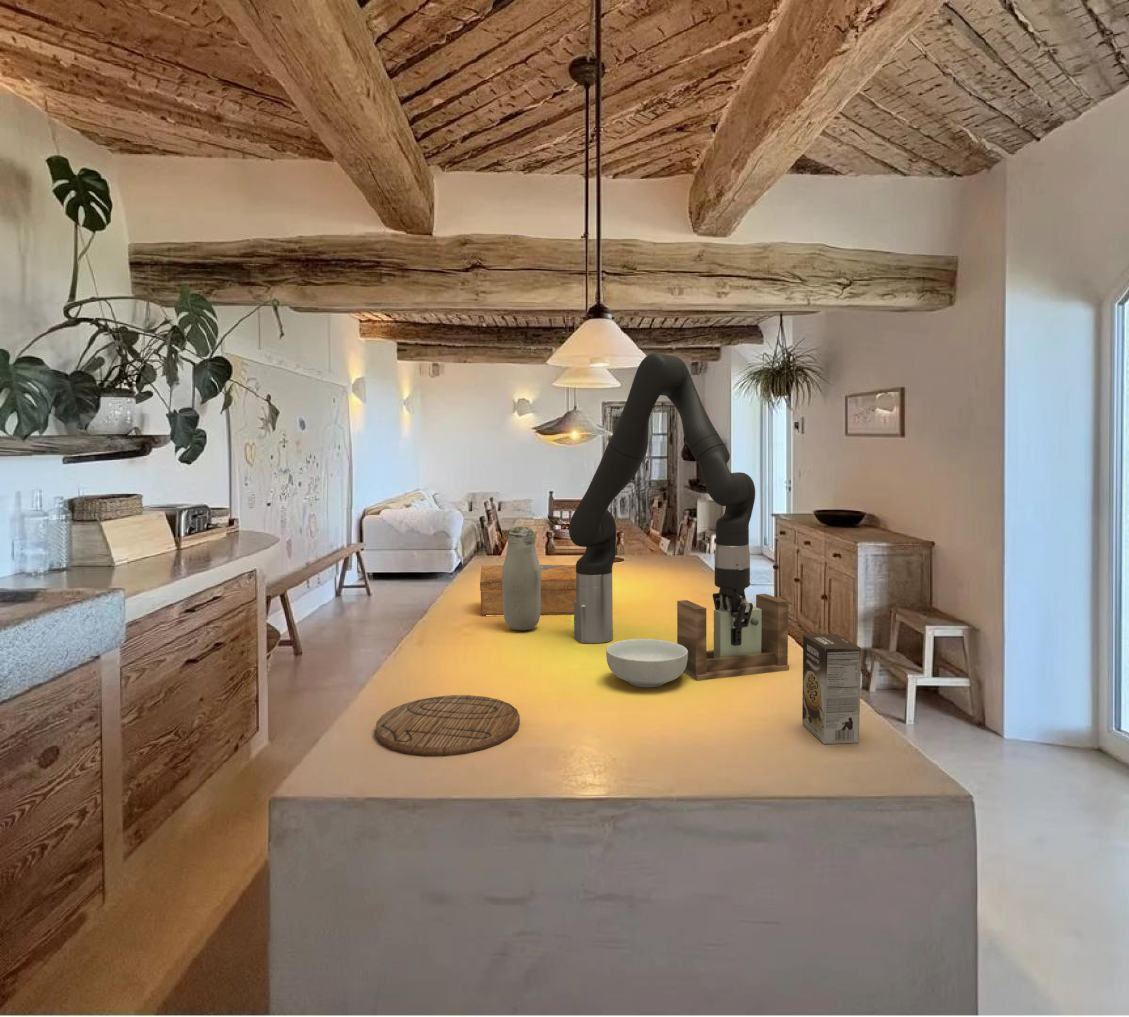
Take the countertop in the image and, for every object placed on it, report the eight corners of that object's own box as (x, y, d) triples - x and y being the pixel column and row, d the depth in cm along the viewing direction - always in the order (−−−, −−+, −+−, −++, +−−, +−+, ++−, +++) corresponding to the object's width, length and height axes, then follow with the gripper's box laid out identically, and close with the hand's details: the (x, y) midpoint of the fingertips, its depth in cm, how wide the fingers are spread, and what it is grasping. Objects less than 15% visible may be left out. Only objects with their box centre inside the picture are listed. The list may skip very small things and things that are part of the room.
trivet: (500, 762, 117) (500, 751, 117) (350, 754, 121) (350, 743, 121) (532, 707, 142) (532, 697, 141) (407, 702, 146) (407, 692, 146)
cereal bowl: (634, 700, 144) (634, 664, 143) (591, 677, 159) (591, 644, 158) (704, 686, 152) (704, 652, 151) (658, 665, 166) (657, 634, 166)
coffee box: (800, 724, 130) (801, 633, 129) (835, 722, 131) (837, 632, 129) (822, 745, 121) (824, 648, 120) (860, 743, 122) (862, 646, 120)
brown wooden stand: (697, 680, 155) (697, 609, 154) (676, 667, 165) (676, 600, 163) (788, 670, 161) (789, 601, 160) (763, 657, 171) (764, 593, 170)
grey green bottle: (497, 632, 198) (495, 528, 196) (514, 623, 207) (512, 524, 205) (531, 635, 194) (529, 529, 192) (547, 626, 204) (545, 525, 201)
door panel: (722, 669, 160) (722, 613, 159) (713, 663, 163) (713, 610, 162) (763, 664, 162) (764, 610, 161) (753, 659, 166) (754, 606, 165)
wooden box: (479, 618, 216) (478, 570, 215) (485, 605, 233) (484, 561, 232) (582, 616, 216) (581, 569, 215) (581, 604, 232) (581, 560, 231)
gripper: (701, 561, 167) (701, 637, 168) (733, 570, 153) (733, 653, 155) (731, 559, 169) (731, 634, 170) (765, 568, 156) (764, 649, 157)
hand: (732, 642), depth 163 cm, fingers closed on door panel, 3 cm apart
